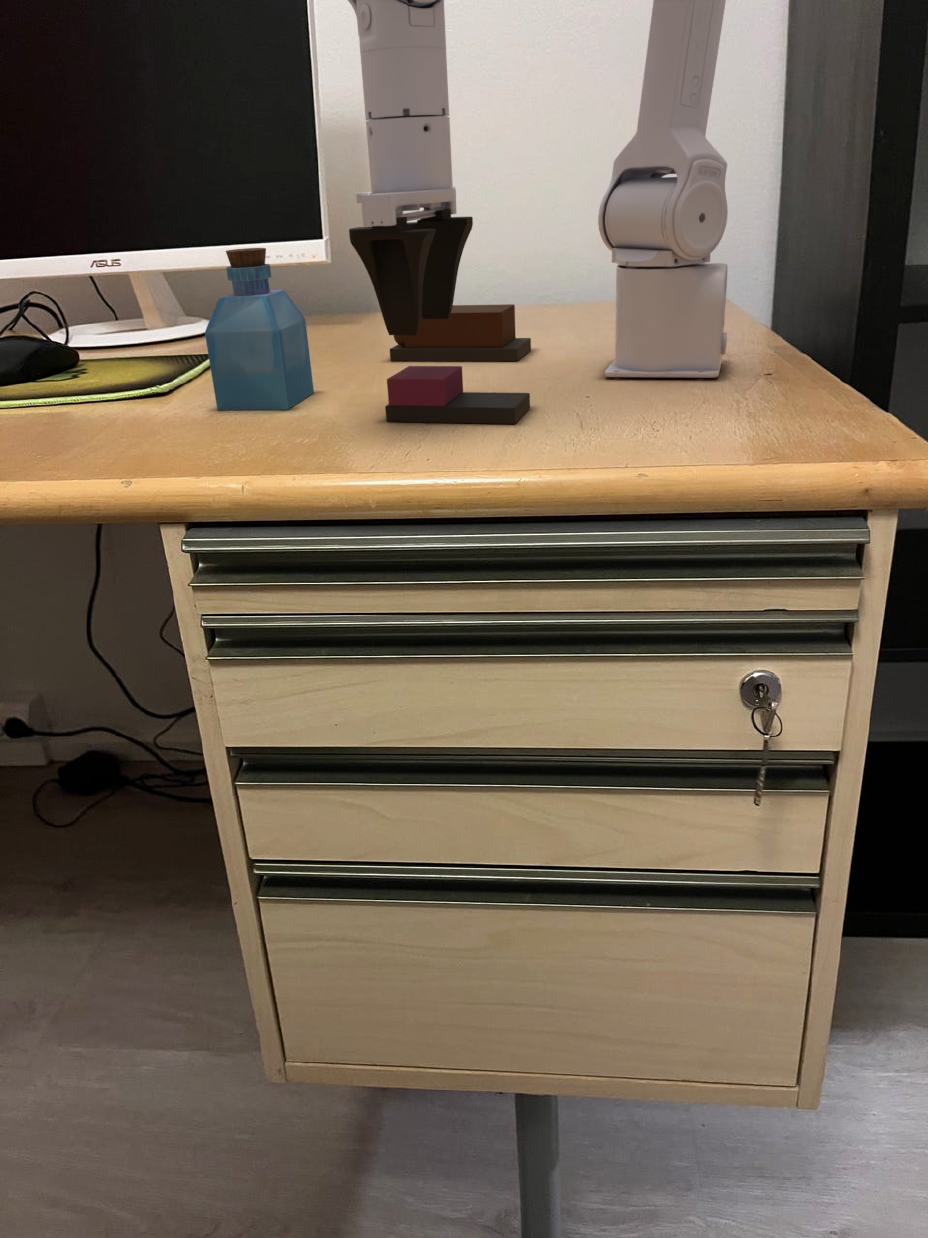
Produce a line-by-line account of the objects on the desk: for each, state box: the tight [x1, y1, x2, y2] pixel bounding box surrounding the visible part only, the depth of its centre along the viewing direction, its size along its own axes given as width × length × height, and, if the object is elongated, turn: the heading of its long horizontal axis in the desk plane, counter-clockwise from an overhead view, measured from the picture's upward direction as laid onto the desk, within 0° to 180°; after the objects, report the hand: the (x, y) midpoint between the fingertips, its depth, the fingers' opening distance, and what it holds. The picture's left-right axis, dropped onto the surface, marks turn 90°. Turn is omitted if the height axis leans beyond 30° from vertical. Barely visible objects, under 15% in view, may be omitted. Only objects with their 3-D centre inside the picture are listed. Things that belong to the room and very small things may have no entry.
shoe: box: [389, 303, 532, 362], centre depth 95 cm, size 13×6×4 cm, turn 74°
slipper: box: [384, 365, 531, 425], centre depth 72 cm, size 10×5×3 cm, turn 74°
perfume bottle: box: [204, 247, 315, 411], centre depth 78 cm, size 6×6×12 cm
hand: (420, 326), depth 71 cm, fingers open, 7 cm apart
